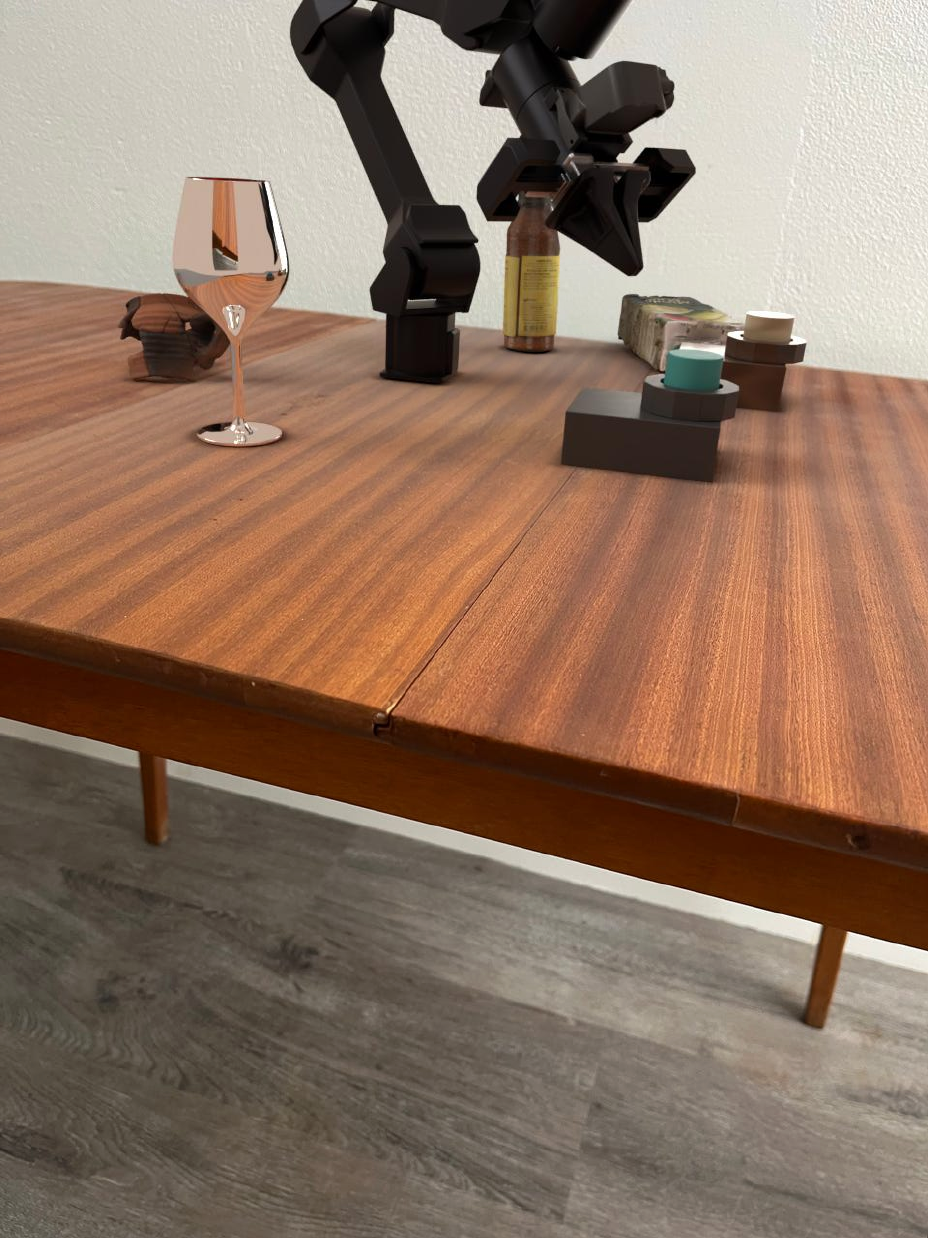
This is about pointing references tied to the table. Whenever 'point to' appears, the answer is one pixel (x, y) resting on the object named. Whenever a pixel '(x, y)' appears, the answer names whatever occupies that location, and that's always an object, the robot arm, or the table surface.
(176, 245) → the wineglass
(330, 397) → the table surface
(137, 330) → the pottery mug
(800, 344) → the base
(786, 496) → the table surface
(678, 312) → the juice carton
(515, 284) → the sauce bottle
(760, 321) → the bell button
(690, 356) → the teal button
